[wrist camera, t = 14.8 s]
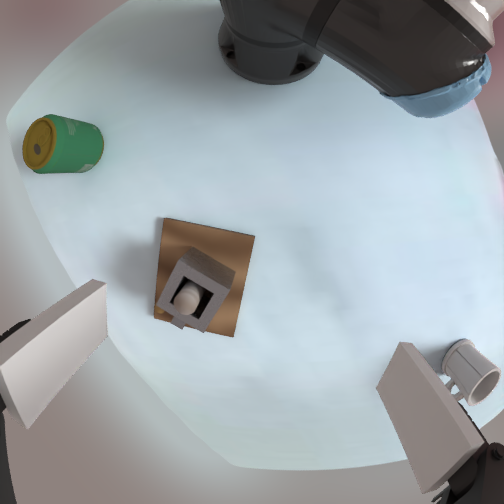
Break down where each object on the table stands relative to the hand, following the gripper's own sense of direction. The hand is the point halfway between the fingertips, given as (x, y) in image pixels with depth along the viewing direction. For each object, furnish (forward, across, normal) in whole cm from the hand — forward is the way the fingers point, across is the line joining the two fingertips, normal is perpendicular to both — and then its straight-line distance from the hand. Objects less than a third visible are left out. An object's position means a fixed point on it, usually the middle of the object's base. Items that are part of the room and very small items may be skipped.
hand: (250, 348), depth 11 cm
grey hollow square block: (+28, -7, -11) cm, 30 cm away
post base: (+29, -7, -9) cm, 31 cm away
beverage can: (+29, -30, +8) cm, 42 cm away
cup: (+29, +46, -17) cm, 57 cm away
